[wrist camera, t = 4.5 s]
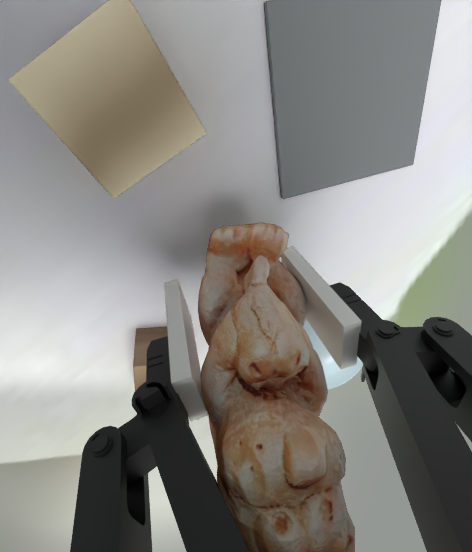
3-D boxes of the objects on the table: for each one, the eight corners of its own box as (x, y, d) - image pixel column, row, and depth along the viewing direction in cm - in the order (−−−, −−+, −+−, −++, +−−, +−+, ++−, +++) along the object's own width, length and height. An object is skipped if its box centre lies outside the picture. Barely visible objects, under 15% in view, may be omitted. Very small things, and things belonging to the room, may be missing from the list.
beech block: (50, 85, 14) (7, 80, 10) (133, 22, 13) (123, -12, 9) (123, 174, 17) (113, 198, 13) (193, 124, 16) (207, 133, 12)
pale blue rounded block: (274, 305, 25) (303, 356, 20) (326, 289, 25) (368, 335, 20) (279, 344, 28) (306, 397, 23) (326, 329, 28) (362, 377, 23)
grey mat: (264, 3, 14) (266, 1, 14) (440, -30, 15) (446, -33, 15) (281, 197, 20) (283, 199, 19) (409, 163, 21) (413, 164, 20)
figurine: (270, 200, 17) (544, 448, 5) (262, 298, 22) (406, 563, 9) (168, 207, 16) (225, 559, 4) (181, 310, 20) (227, 636, 8)
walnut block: (136, 327, 23) (133, 366, 19) (186, 324, 24) (191, 360, 20) (139, 378, 26) (137, 419, 22) (184, 373, 27) (188, 411, 23)
